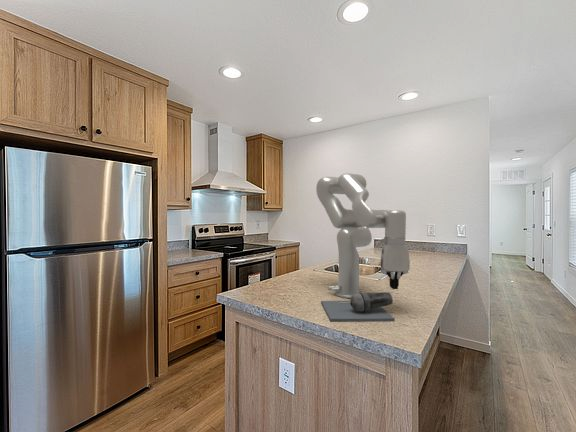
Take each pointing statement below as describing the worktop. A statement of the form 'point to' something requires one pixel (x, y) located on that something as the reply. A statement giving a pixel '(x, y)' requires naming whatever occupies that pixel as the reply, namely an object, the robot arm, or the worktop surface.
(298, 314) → the worktop surface
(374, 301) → the beverage cup
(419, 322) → the worktop surface
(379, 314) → the rubber mat
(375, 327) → the worktop surface
